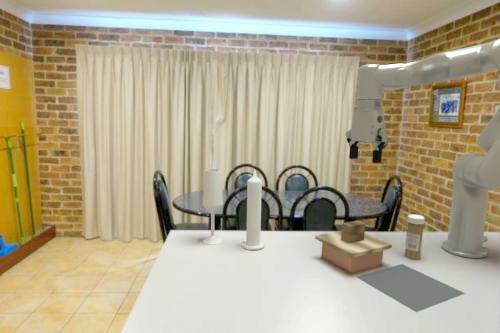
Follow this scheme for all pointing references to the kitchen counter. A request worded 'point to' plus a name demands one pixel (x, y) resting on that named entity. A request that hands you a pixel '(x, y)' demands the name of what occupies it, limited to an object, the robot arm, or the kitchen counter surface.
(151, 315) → the kitchen counter surface
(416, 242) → the sprinkles bottle
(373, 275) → the mat
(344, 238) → the lid
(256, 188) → the candle
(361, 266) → the open wooden tray
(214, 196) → the champagne flute
